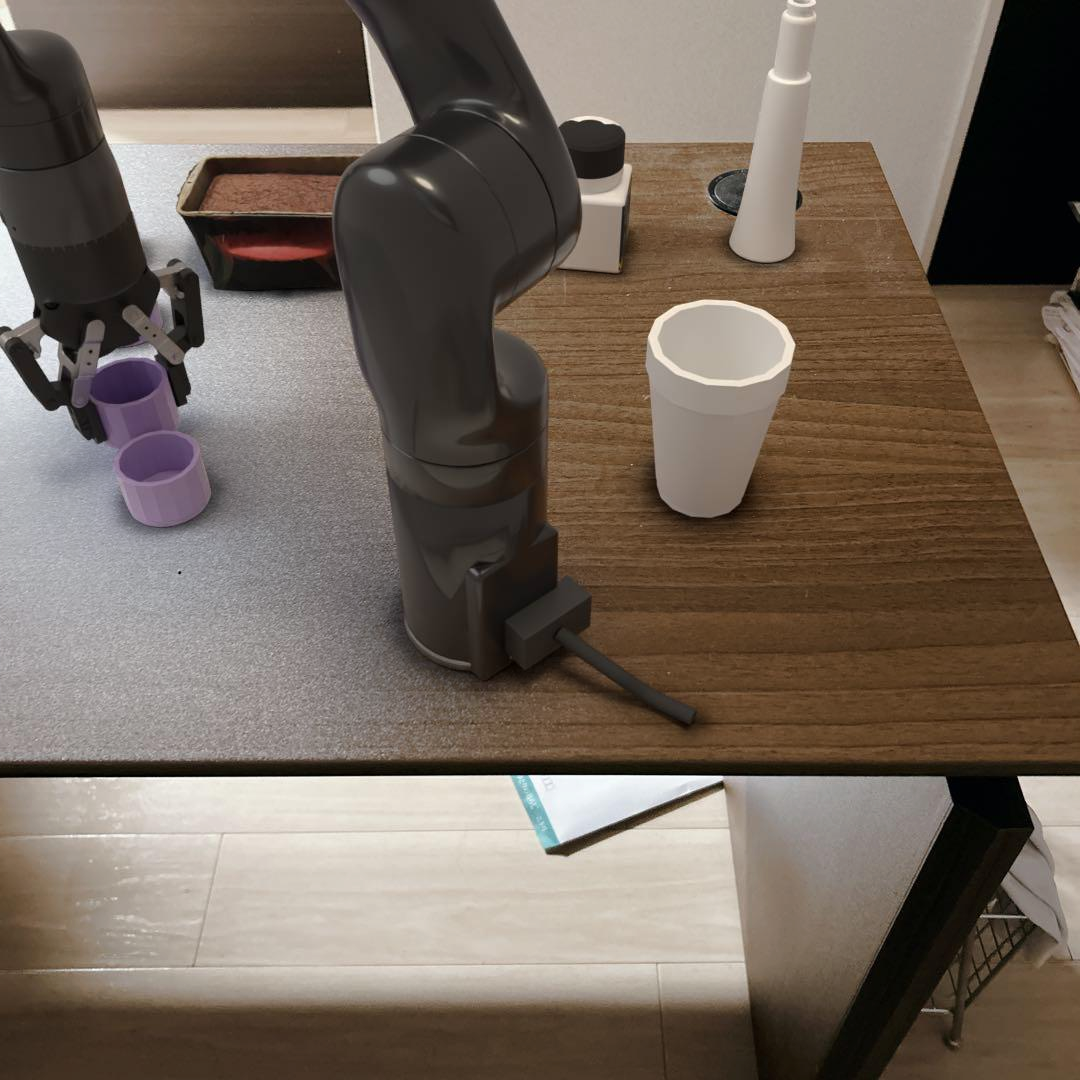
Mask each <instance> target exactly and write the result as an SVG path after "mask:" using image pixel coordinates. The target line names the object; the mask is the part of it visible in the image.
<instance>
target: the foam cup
mask: <svg viewBox="0 0 1080 1080" xmlns="http://www.w3.org/2000/svg"><path fill="white" fill-rule="evenodd" d="M795 349H796V343H795V340H794V338H793V337H792V335H791V333H790V331H789V329H788V327H787V325H786V324H784V323H783V322H782V321H780V320H779V319H777V318H776V317H774V316H773V315H772V314H770V313H769V312H767V311H766V310H765V309H762V308H759V307H756V306H752V305H749V304H746V303H743V302H739V301H736V300H723V299H722V300H721V299H699V300H694V301H690V302H685V303H681V304H677V305H674V306H673V307H671V308H670V309H668V310H667V311H666V312H663V314H661V315H659V316H658V317H656V318H655V319H654V321H653V324H652V326H651V329H650V332H649V333H648V336H647V342H646V355H645V364H644V365H645V366H644V367H645V369H646V373H647V376H648V383H649V393H650V394H649V397H650V412H651V424H652V438H653V440H652V441H653V453H654V455H653V456H654V469H655V479H656V487H657V490H658V494H659V496H660V499H661V500H662V501H663V502H665V504H667V506H668V507H670V508H671V509H672V510H674V511H676V512H679V513H681V514H684V515H686V516H689V517H692V518H693V517H694V518H695V517H696V518H708V519H709V518H714V517H718V516H722V515H725V514H729V513H730V512H731V511H732V510H734V509H735V508H736V507H737V506H739V505H740V504H741V503H742V499H743V497H744V495H745V492H746V491H747V487H748V484H749V481H750V479H751V476H752V474H753V471H754V468H755V465H756V463H757V460H758V458H759V454H760V452H761V449H762V447H763V444H764V441H765V438H766V436H767V433H768V430H769V427H770V425H771V422H772V419H773V417H774V415H775V411H776V408H777V406H778V403H779V401H780V397H781V396H783V395H784V394H785V393H786V389H787V385H788V381H789V378H790V373H791V369H792V363H793V358H794V355H795Z"/></svg>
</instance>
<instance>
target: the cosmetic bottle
mask: <svg viewBox="0 0 1080 1080" xmlns="http://www.w3.org/2000/svg"><path fill="white" fill-rule="evenodd" d="M816 6H817V1H816V0H787V1H786V9H785V10H784V11H783V12H782V14H781V18H780V24H779V25H780V26H779V30H778V31H779V32H778V39H777V45H776V51H775V58H774V64H773V67H772V68H771V69H770V70H769V71H768V72H767V76H766V79H765V80H766V81H765V84H764V89H763V94H762V99H761V105H760V108H759V115H758V118H757V119H758V120H757V125H756V129H755V135H754V141H753V146H752V151H751V156H750V161H749V164H748V170H747V175H746V180H745V185H744V190H743V193H742V197H741V200H740V204H739V209H738V212H737V216H736V219H735V222H734V225H733V227H732V232H731V234H730V236H729V241H728V243H729V247H730V248H731V250H732V252H734V253H735V254H736V255H737V256H739V257H740V258H743V259H745V260H748V261H751V262H756V263H764V264H765V263H767V264H769V263H777V262H781V261H783V260H786V259H788V258H789V257H790V256H791V255H792V254H793V253H794V251H795V249H796V213H797V199H798V188H799V179H800V172H801V171H800V170H801V164H802V157H803V156H802V155H803V149H804V143H805V142H804V141H805V133H806V126H807V119H808V110H809V104H810V95H811V86H812V74H811V73H810V72H809V67H810V60H811V54H812V48H813V43H814V38H815V37H814V36H815V33H816V32H815V31H816V24H817V20H818V18H817V13H816V11H814V10H815V9H816Z"/></svg>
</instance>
